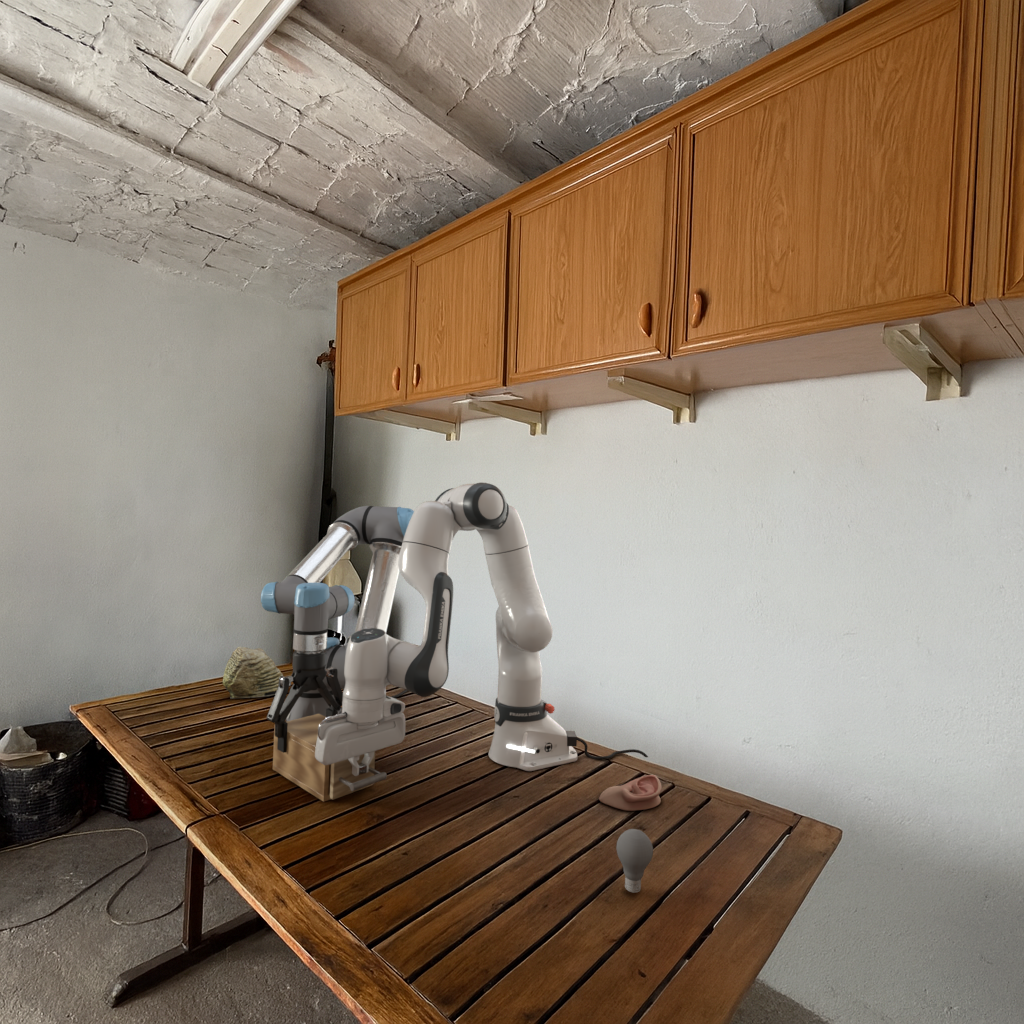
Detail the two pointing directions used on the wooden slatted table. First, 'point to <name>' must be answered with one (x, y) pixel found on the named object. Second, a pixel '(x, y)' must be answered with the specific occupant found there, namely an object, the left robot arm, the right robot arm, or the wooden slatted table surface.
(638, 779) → the anatomical model
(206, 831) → the wooden slatted table surface
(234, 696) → the fossil
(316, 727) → the cabinet
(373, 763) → the drawer
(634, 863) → the light bulb
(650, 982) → the wooden slatted table surface
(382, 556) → the left robot arm
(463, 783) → the wooden slatted table surface
